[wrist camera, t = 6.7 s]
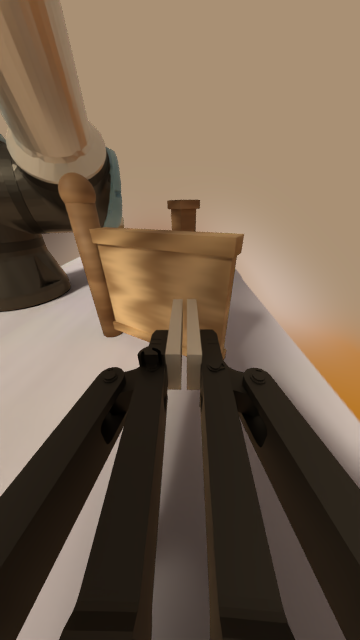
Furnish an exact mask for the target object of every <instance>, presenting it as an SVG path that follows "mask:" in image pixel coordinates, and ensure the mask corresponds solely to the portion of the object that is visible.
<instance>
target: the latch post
mask: <svg viewBox="0 0 360 640" xmlns="http://www.w3.org/2000/svg"><path fill="white" fill-rule="evenodd" d="M167 203H168V209H171V219H172V231H192V232H195V229H196V227H195V226H196V209H199V208H200V200H170V201H167Z"/></svg>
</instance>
